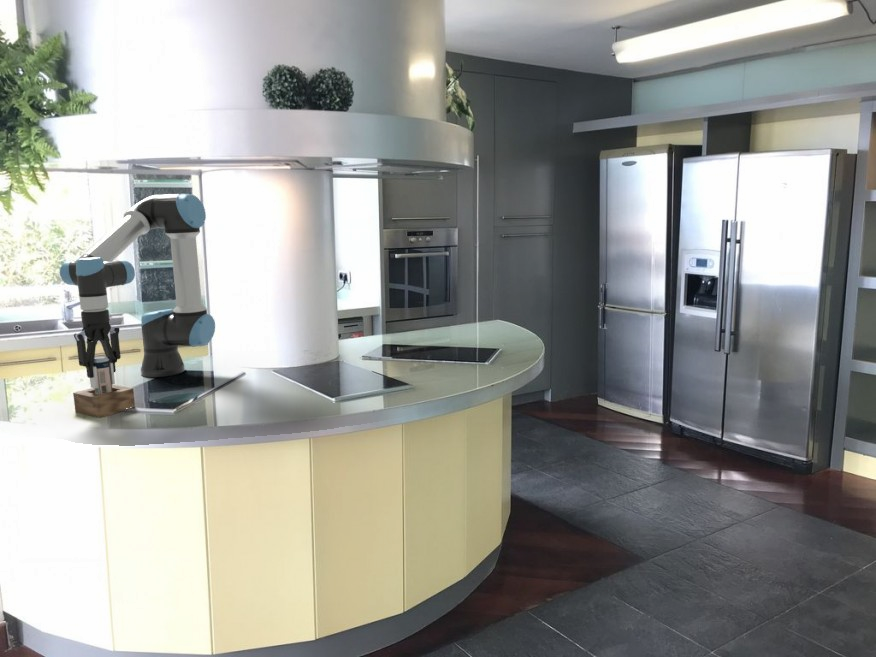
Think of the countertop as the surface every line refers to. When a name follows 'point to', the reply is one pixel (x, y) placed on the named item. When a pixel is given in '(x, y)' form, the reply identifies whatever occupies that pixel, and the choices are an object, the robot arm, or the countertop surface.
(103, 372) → the beer can
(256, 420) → the countertop surface
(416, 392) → the countertop surface
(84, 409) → the wooden box
